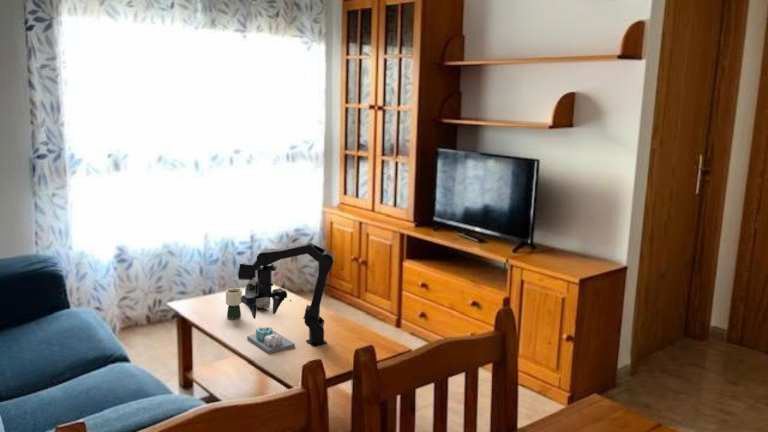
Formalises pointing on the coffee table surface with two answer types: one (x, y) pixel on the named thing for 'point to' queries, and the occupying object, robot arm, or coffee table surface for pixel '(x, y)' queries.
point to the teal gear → (263, 333)
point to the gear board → (269, 348)
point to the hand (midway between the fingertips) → (264, 316)
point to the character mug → (233, 302)
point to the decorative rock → (260, 303)
